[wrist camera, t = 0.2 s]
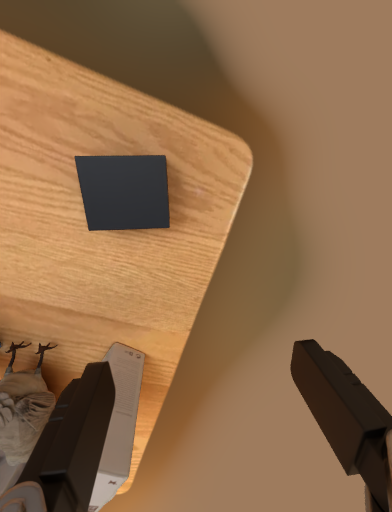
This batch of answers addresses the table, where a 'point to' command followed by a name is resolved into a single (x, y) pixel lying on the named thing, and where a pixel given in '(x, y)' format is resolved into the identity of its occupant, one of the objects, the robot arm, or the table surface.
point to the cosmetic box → (119, 424)
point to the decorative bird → (23, 408)
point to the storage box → (124, 191)
